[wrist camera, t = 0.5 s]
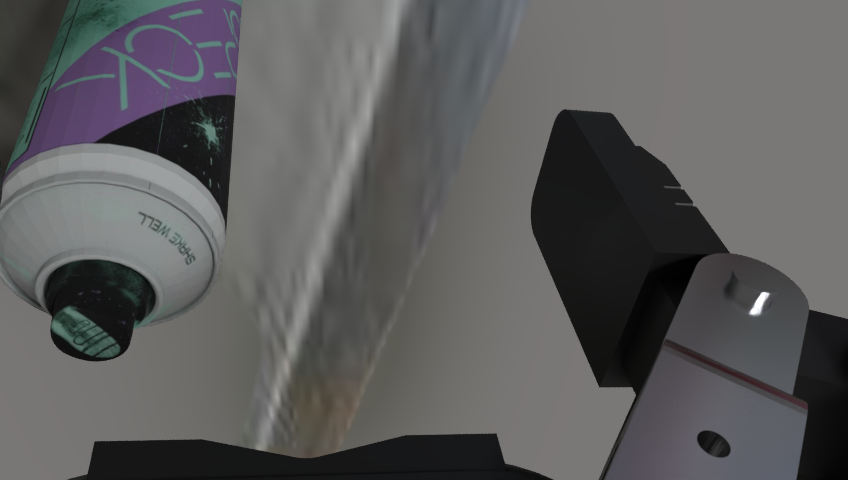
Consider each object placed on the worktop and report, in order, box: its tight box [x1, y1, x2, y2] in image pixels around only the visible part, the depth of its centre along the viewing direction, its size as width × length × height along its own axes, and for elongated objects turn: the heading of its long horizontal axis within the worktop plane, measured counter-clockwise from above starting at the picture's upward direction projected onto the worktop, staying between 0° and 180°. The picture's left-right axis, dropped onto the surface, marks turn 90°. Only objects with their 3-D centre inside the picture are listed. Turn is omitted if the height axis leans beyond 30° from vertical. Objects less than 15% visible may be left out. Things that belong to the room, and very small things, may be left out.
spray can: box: [0, 0, 242, 361], centre depth 25 cm, size 6×6×20 cm
